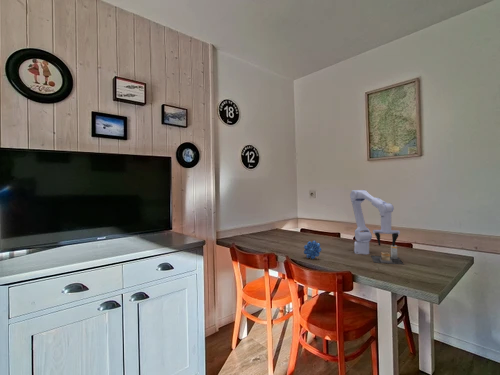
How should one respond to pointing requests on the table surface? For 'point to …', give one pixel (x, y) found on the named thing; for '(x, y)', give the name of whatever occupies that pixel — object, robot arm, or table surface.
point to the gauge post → (394, 252)
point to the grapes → (312, 249)
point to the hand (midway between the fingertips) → (386, 245)
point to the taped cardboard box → (385, 256)
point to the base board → (386, 261)
